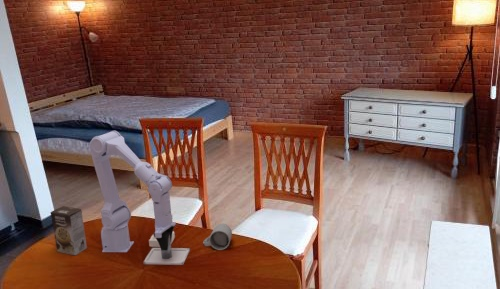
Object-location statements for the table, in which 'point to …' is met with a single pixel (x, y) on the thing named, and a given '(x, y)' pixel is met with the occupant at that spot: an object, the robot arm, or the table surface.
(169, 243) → the steel pin
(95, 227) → the table surface
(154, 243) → the square socket block
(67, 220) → the coffee box
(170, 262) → the tray
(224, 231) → the ceramic mug
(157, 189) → the robot arm
